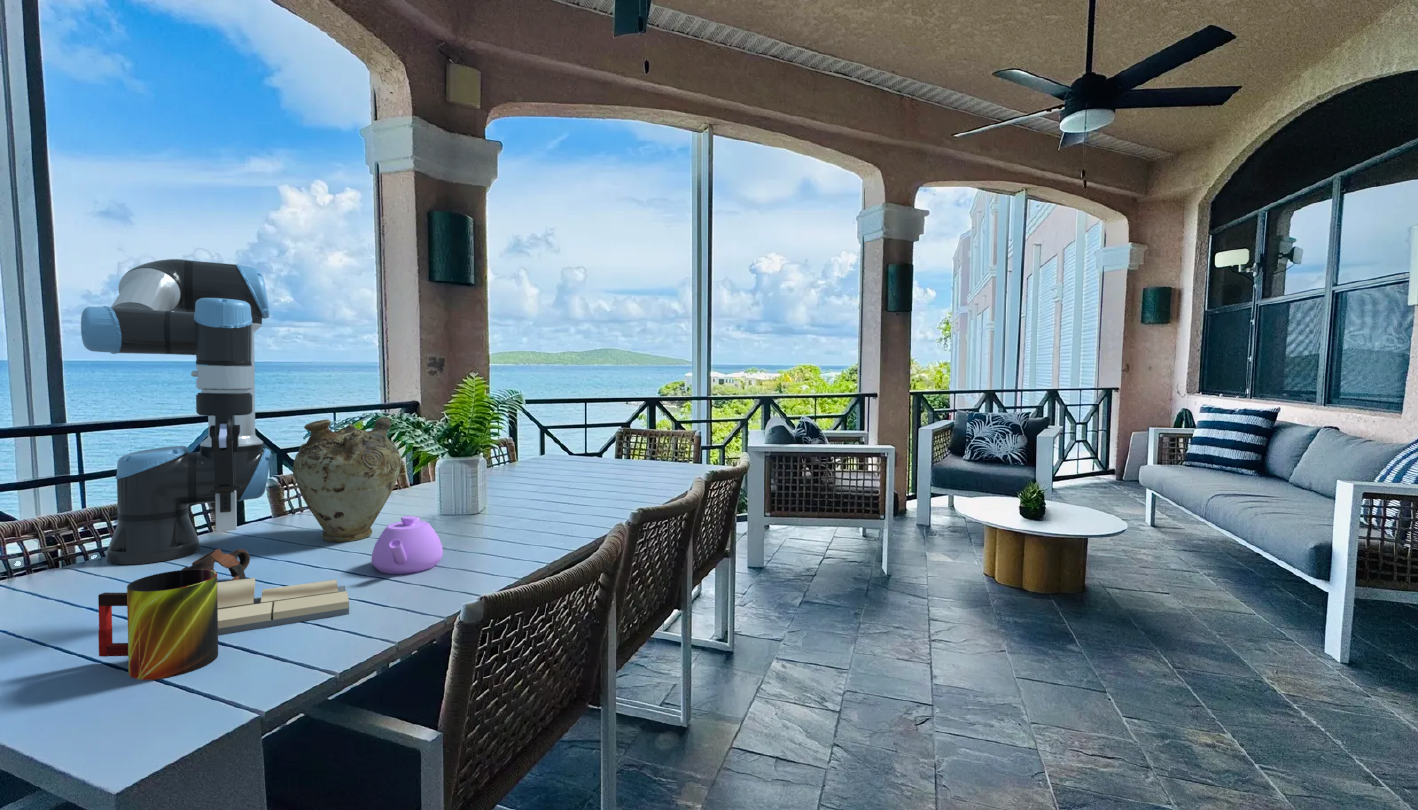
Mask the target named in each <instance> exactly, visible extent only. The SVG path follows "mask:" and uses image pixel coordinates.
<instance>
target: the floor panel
mask: <svg viewBox="0 0 1418 810" xmlns="http://www.w3.org/2000/svg"><path fill="white" fill-rule="evenodd" d="M337 586H338V585H337ZM261 597H262V596H260V597H254V605H247V606H240V607H233V608H226V609H219V610H218V636H219V635H226V634H233V633H238V632H244V631H250V630H257V629H262V628H263V629H265V628H268V627H269V628H270V627H275V626H282V625H287V624H292V623H293V624H294V623H295V624H296V623H300V622H307V621H312V620H319V619H325V618H332V617H338V616H343V615H349V614H350V599H349V593H348V591H347V590H346V585H340V586H338V592H337V593H330V594H323V595H316V596H309V597H302V598H295V599H288V600H281V601H275V602H274V607H273V608H272V602H268V603H261Z"/></svg>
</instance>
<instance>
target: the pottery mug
mask: <svg viewBox="0 0 1418 810" xmlns="http://www.w3.org/2000/svg"><path fill="white" fill-rule="evenodd" d="M238 558H239V559H238ZM250 560H251V555H250V553H249V552H248V551H247V550H246V549H244V548H236V549H234V550H232V551H230V552H229V553H224V552H222V550H221V549H220V548H218V549H214V550H212V551H210V552H208V553H207V554H205V555H203V556H201V557H200V558H198V559H196V560H195V561H193V562H192V563H191V565H190V566H184V567H183V568H182V569H181V570H189V569H207V570H213V571H215V569H214V568H215V566H214V565H215V562H216V563H218V564H219V565H220V566H221V567H223V568H225V569H228V570H229V572H230V576H231V577H232V578H231V579H230V580H229V581H234V580H242V579H247V577H246V574H245V570H246V569H247V568H248V567H249V565H250ZM215 572H216V571H215Z"/></svg>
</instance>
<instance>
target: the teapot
mask: <svg viewBox="0 0 1418 810" xmlns="http://www.w3.org/2000/svg"><path fill="white" fill-rule="evenodd" d="M400 520H401V521H398V522H393V523H389V524H388V525H387V526H386V527H385V528H384V529H383V531H382V532H381V534H380V535H379V537H378V539H377V540H376V542H375V544H374V547H373V549H372V553H371V563H372V565H373V567H375V568H376V570H378V571H379V572H380V573H382V574H383V573H384V574H391V575H403V574H404V575H405V574H407V575H408V574H414V573H420V572H424V571H427V569H428V570H430V569H432V568H434V567H436V566H437V564H438V563H439V562H440V561H441V560H442V558H443V555H444V550H443V544H442V542H441V541H442V540H440V537H439V535H438V534H437V532H436V530H435V529H434V528H433V526H432V525H431V524H430V523H429V522H428V521H425V520H421V518H420V516H419V517H418V516H413V515H404V516H402V517H400Z"/></svg>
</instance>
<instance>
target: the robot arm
mask: <svg viewBox="0 0 1418 810" xmlns="http://www.w3.org/2000/svg"><path fill="white" fill-rule="evenodd" d="M117 289H118V295H117V297H116V299H115V300H114V301H113V303H112V305H111V306H109V305H104V306H87V307H85V308H84V309H83V310H82V313H81V318H80V334H81V335H80V336H81V341H82V344H83V346H84V348H85V349H87V350H88V351H90V352H95V353H110V354H112V355H115V354H116V355H117V354H135V355H136V354H137V355H138V354H139V355H141V354H143V355H144V354H145V355H146V354H147V355H149V354H150V355H153V354H154V355H176V356H177V355H179V356H195V357H196V358H195V359H196V360H195V365H196V366H195V369H196V370H192V371H191V372H190V375H191V376H192V377H193V378H195V377H197V378H196V379H195V383H196V386H195V387H196V389H197V390H201V392H197V394H196V395H195V401H196V402H195V405H196V406H195V407H196V408H195V411H196V414H197V415H199V416H204V417H206V416H207V417H208V418H207V419H208V422H207V423H208V424H207V425H208V435H207V437H206V438H205V439H204V440H203V441H202V442H201V443H200V444H199V449H200V450H199V451H195V452H194V451H192V452H189V451H190V450H189V448H188V447H187V446H186V445H177V446H173V445H172V446H164V447H158V448H157V447H155V448H149V449H144V450H138V451H133V452H130V453H127V454H124V455H122V456H120V458H119V459H118V460H117V464H116V465H117V466H116V476H115V480H116V490H117V491H116V493H117V495H116V496H117V497H116V498H117V503H116V504H117V507H116V509H117V525H116V527H115V530H114V532H113V534H112V537H111V540H110V542H109V545H108V547H107V550H106V562H108V563H110V564H115V565H140V564H151V563H157V562H164V561H170V560H176V559H179V558H184V557H187V556H190V555H191V554H195V553H196V552H198V551H199V550H200V539H199V537H198V534H197V532H196V529H195V527H194V526H193V523H192V521H191V518H190V516H189V505H201V504H209V503H210V504H211V503H215V532H217V533H218V532H226V531H229V532H230V531H237V527H238V526H237V525H238V524H237V521H238V519H237V502H241V501H247V500H253V499H259V498H262V497H263V495H264V494H265V491H266V490H267V489H266V488H267V483H268V477H269V472H270V464H271V463H270V462H271V449H269V448H264V440H261V438H260V437H258V436H257V434H256V403H255V402H256V395H255V394H256V390H255V389H256V388H255V386H256V385H255V381H256V380H255V376H256V374H255V372H256V371H255V364H256V363H255V332H256V331H258V330H259V329H260V328H261V327H263V319H265V320H266V319H270V307H269V301H268V295H267V294H268V293H267V288H266V283H265V278H264V275H263V272H262V271H261V269H258V268H256V267H253V266H247V265H241V264H240V265H239V264H237V263H236V264H233V263H222V262H221V263H220V262H211V261H210V262H209V261H201V260H198V261H197V260H188V259H184V258H183V259H179V258H176V259H175V258H172V259H170V258H169V259H160V260H155V261H150V262H147V263H143V264H141V265H138V266H136V267H133V268H132V269H130V270H128V271H127V272H126V273H125V274H123V276H122V277H121V279H120V280H119V283H118V288H117Z"/></svg>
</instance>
